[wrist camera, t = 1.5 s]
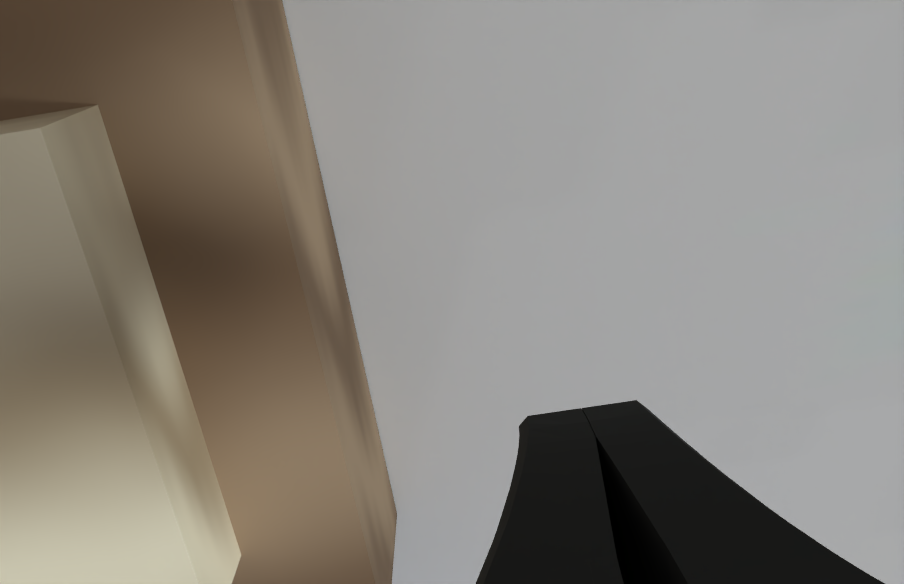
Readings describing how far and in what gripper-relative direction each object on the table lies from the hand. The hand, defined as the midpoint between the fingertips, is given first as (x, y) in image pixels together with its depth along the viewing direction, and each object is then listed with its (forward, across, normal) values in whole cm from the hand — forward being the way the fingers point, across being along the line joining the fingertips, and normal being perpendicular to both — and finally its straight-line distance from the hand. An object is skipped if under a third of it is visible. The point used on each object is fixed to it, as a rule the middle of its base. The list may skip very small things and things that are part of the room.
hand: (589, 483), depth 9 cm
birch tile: (+5, +10, 0) cm, 11 cm away
